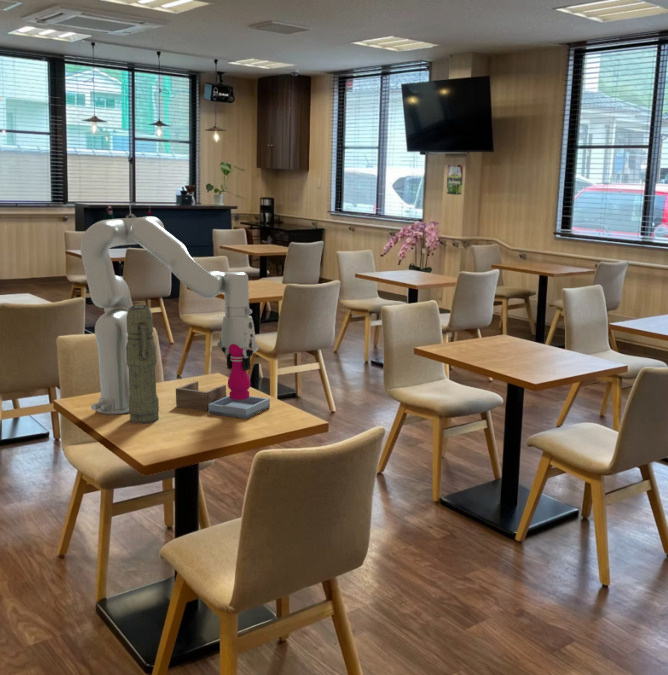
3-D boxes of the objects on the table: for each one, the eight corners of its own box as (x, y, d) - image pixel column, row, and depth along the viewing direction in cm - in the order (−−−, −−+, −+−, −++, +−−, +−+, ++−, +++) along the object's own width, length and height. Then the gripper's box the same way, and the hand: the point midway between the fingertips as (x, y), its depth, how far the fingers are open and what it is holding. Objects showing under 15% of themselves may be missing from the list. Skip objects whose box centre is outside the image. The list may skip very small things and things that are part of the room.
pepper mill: (223, 399, 253) (221, 336, 250) (235, 393, 260) (233, 332, 256) (243, 401, 251) (242, 338, 247) (255, 395, 257) (253, 334, 253)
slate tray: (246, 418, 247) (246, 409, 246) (208, 413, 253) (208, 404, 252) (269, 407, 259) (269, 398, 259) (233, 402, 265) (232, 393, 265)
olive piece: (152, 412, 254) (147, 302, 247) (164, 422, 244) (159, 307, 237) (124, 416, 249) (118, 305, 243) (135, 426, 239) (130, 310, 233)
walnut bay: (207, 411, 255) (206, 392, 254) (176, 406, 261) (175, 388, 260) (226, 402, 265) (225, 385, 264) (196, 398, 270) (195, 381, 269)
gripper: (266, 312, 250) (268, 369, 253) (220, 308, 257) (222, 364, 260) (254, 315, 243) (255, 374, 246) (207, 312, 250) (209, 368, 254)
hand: (238, 368), depth 253 cm, fingers closed on pepper mill, 5 cm apart
